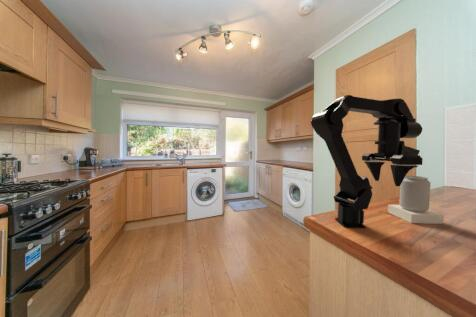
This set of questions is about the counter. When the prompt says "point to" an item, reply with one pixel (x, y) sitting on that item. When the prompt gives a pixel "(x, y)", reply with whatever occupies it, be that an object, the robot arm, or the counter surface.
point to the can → (415, 193)
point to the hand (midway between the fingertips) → (386, 183)
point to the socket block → (416, 215)
